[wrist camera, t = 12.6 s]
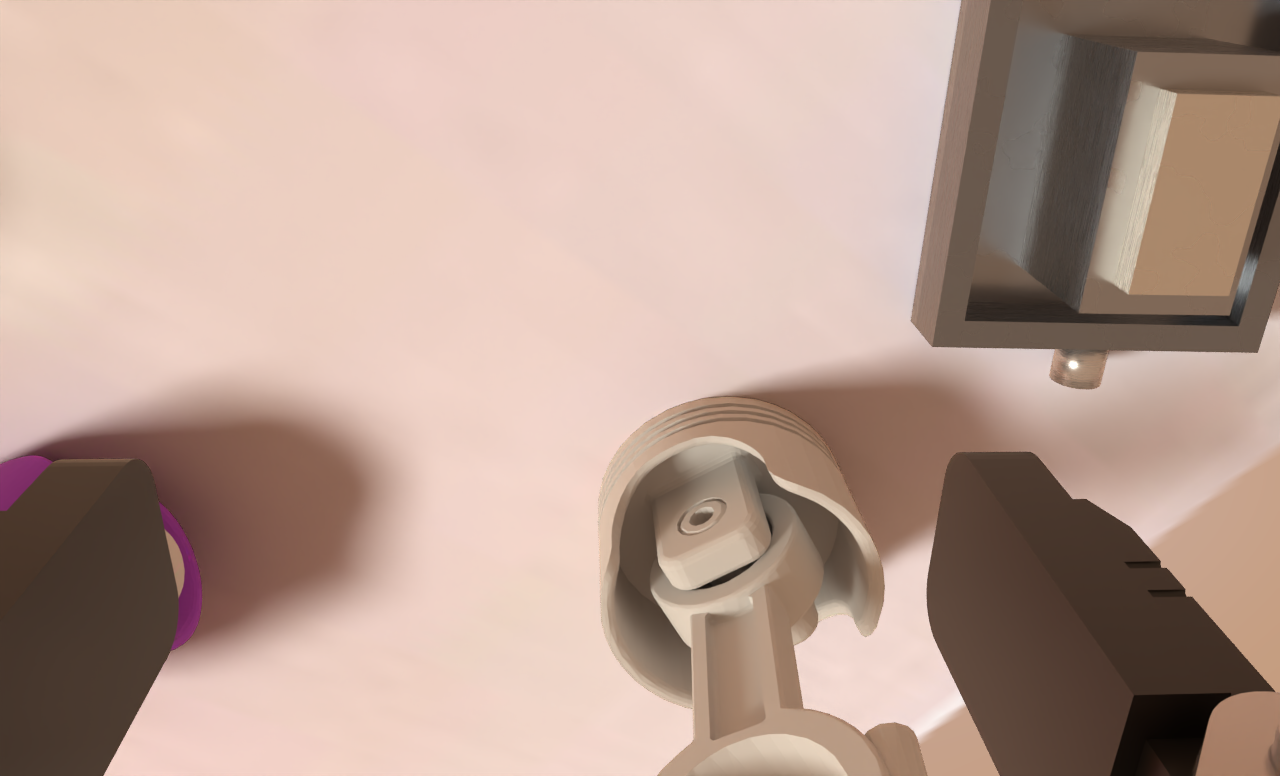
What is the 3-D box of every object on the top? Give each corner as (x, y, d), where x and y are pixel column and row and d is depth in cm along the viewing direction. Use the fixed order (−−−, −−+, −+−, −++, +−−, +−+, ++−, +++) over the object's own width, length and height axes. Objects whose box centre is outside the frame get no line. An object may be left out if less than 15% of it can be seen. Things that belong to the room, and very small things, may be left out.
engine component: (880, 544, 43) (778, 352, 39) (1108, 1024, 24) (956, 748, 20) (652, 651, 44) (532, 478, 41) (700, 1176, 26) (489, 948, 22)
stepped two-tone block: (1063, 34, 34) (1155, 55, 28) (1209, 38, 34) (1327, 60, 29) (1018, 265, 37) (1092, 324, 32) (1151, 267, 38) (1248, 326, 32)
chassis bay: (978, -109, 33) (1009, -112, 30) (1339, -93, 33) (1396, -94, 31) (904, 359, 39) (925, 388, 37) (1206, 364, 40) (1245, 392, 38)
